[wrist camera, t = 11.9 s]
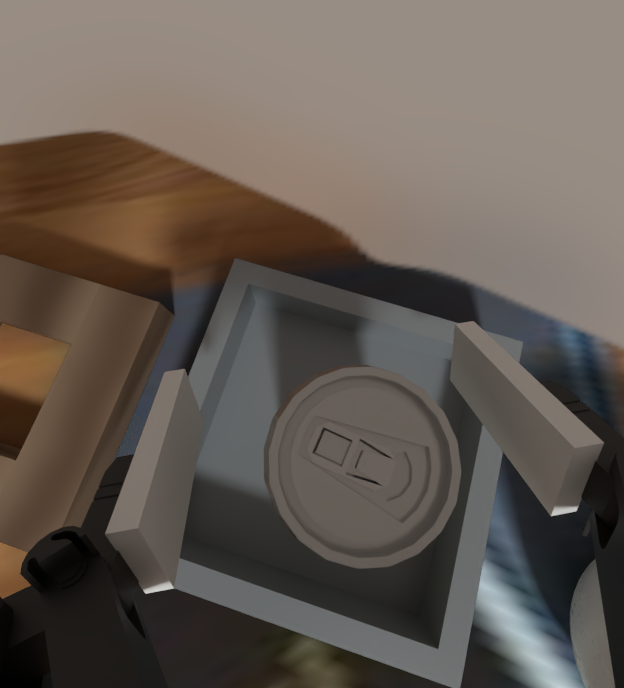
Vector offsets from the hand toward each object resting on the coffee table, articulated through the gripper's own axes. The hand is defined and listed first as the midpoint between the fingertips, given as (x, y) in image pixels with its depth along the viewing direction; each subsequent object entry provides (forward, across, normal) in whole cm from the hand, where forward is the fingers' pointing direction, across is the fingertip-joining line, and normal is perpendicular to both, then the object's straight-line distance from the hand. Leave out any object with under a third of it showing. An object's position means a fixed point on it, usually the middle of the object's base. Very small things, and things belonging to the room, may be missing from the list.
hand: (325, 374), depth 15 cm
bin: (+4, 0, -8) cm, 9 cm away
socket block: (+8, -18, -3) cm, 20 cm away
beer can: (+3, 0, -7) cm, 8 cm away
